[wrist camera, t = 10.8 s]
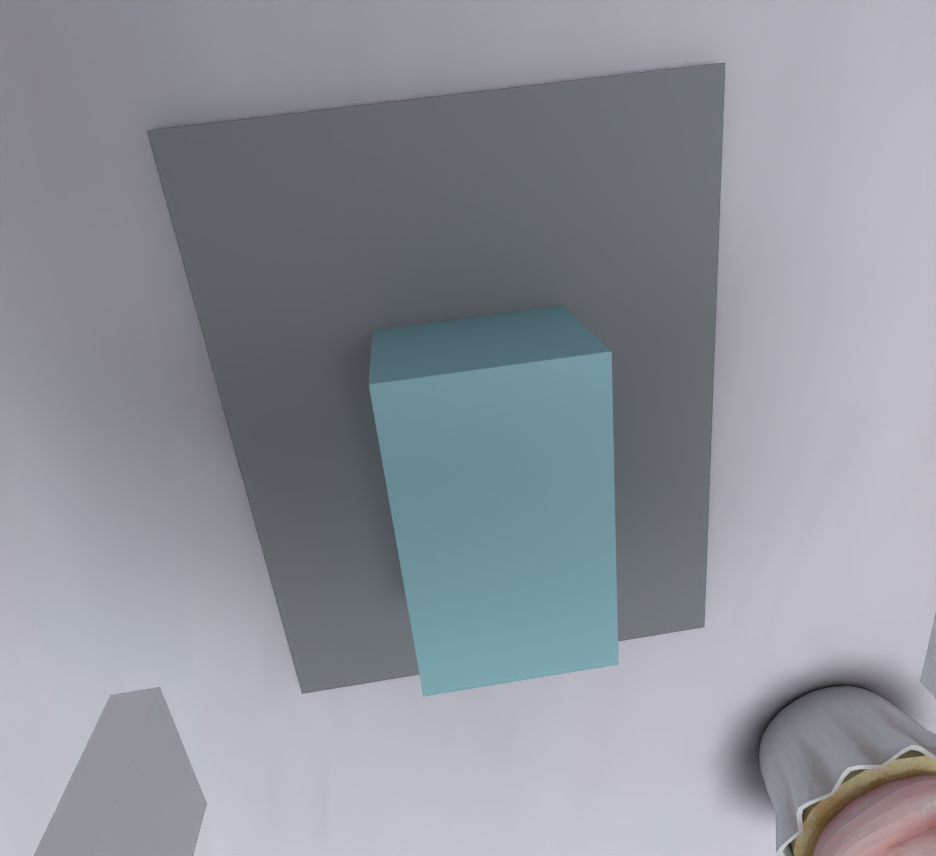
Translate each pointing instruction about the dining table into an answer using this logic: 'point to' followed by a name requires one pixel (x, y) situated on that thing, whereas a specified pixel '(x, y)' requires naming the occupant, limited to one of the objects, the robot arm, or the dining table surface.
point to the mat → (453, 316)
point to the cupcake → (850, 777)
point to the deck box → (501, 493)
